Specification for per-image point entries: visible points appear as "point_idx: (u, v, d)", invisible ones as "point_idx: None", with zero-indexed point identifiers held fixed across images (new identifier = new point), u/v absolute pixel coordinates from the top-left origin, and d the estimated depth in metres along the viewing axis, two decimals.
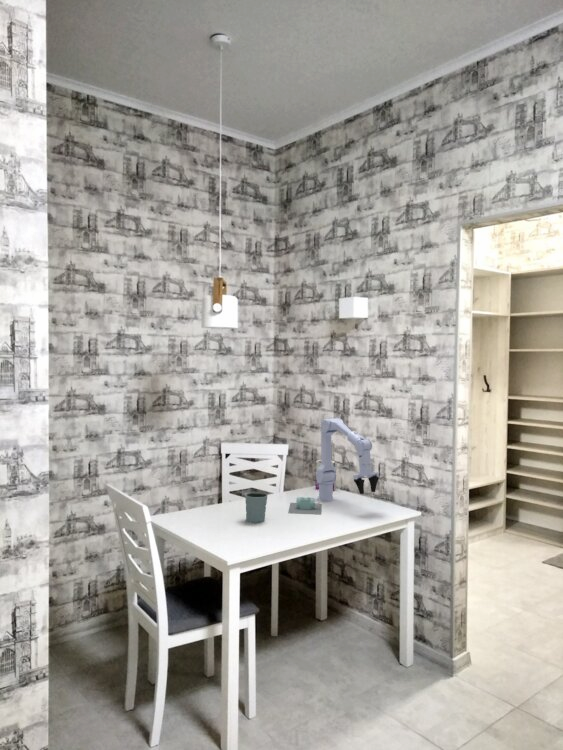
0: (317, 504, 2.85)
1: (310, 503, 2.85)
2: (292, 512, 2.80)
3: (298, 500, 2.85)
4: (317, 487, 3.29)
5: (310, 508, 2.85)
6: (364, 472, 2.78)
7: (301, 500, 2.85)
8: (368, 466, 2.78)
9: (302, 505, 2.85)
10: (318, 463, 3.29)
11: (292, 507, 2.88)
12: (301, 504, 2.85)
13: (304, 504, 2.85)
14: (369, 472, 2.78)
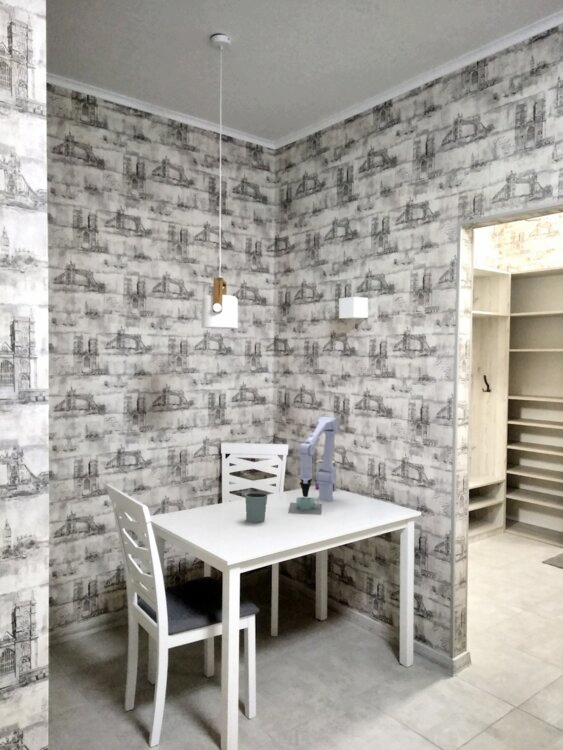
0: (317, 504, 2.85)
1: (310, 503, 2.85)
2: (292, 512, 2.80)
3: (298, 500, 2.85)
4: (317, 487, 3.29)
5: (310, 508, 2.85)
6: None
7: (301, 500, 2.85)
8: None
9: (302, 505, 2.85)
10: (318, 463, 3.29)
11: (292, 507, 2.88)
12: (301, 504, 2.85)
13: (304, 504, 2.85)
14: (300, 474, 2.87)
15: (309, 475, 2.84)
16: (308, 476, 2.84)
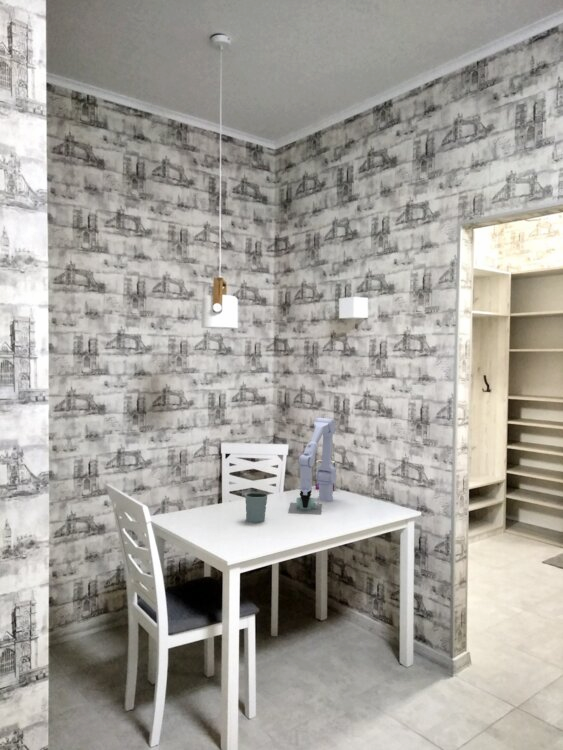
0: (317, 504, 2.85)
1: (310, 503, 2.85)
2: (292, 512, 2.80)
3: (298, 500, 2.85)
4: (317, 487, 3.29)
5: (310, 508, 2.85)
6: None
7: (301, 500, 2.85)
8: None
9: (302, 505, 2.85)
10: (318, 463, 3.29)
11: (292, 507, 2.88)
12: (301, 504, 2.85)
13: None
14: (300, 486, 2.87)
15: (309, 487, 2.84)
16: (308, 488, 2.84)
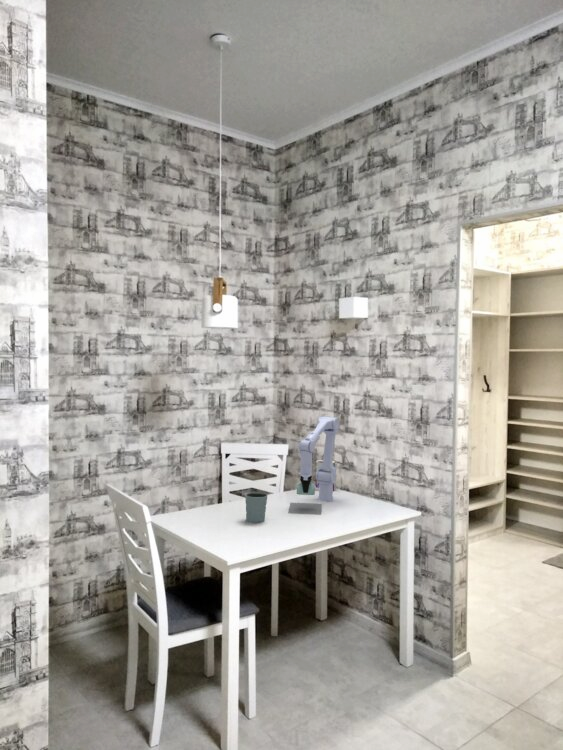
0: (317, 489, 2.85)
1: (310, 488, 2.84)
2: (292, 512, 2.80)
3: (298, 485, 2.85)
4: (317, 487, 3.29)
5: (310, 493, 2.84)
6: None
7: (301, 485, 2.85)
8: None
9: (302, 490, 2.85)
10: (318, 463, 3.29)
11: (292, 507, 2.88)
12: (302, 489, 2.85)
13: None
14: None
15: (309, 472, 2.84)
16: (308, 473, 2.84)
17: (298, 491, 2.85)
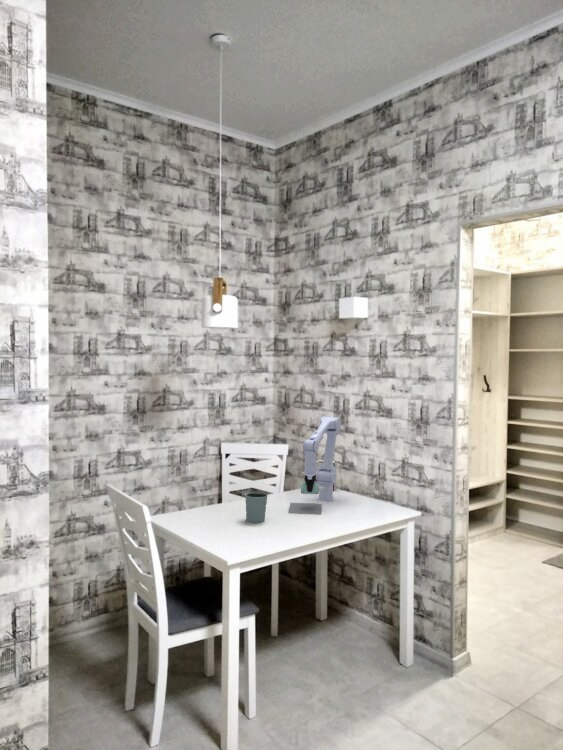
0: (321, 489, 2.87)
1: (314, 488, 2.86)
2: (292, 512, 2.80)
3: (303, 485, 2.87)
4: None
5: (314, 493, 2.86)
6: None
7: (306, 485, 2.86)
8: None
9: None
10: (318, 463, 3.29)
11: (292, 507, 2.88)
12: (306, 488, 2.86)
13: None
14: None
15: (313, 471, 2.86)
16: (312, 472, 2.85)
17: (302, 490, 2.87)
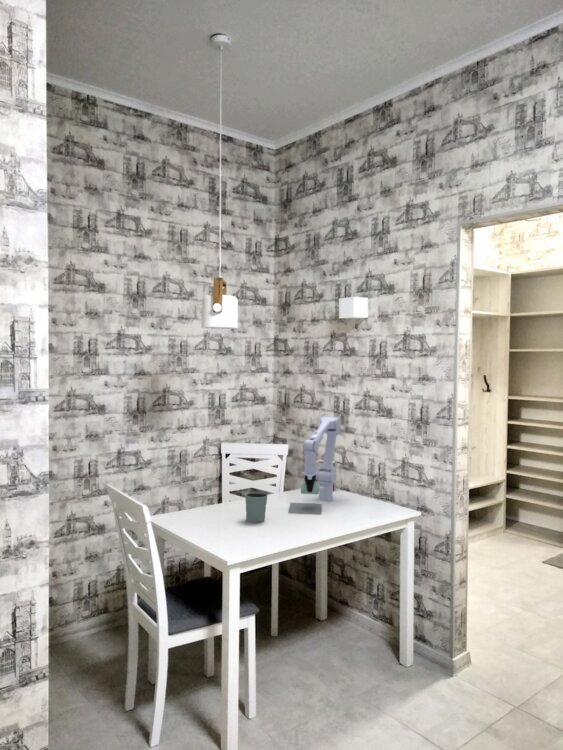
0: (321, 489, 2.87)
1: (314, 488, 2.86)
2: (292, 512, 2.80)
3: (303, 485, 2.87)
4: None
5: (314, 493, 2.86)
6: None
7: (306, 485, 2.86)
8: None
9: None
10: (318, 463, 3.29)
11: (292, 507, 2.88)
12: (306, 488, 2.86)
13: None
14: None
15: (313, 471, 2.86)
16: (312, 472, 2.85)
17: (302, 490, 2.87)
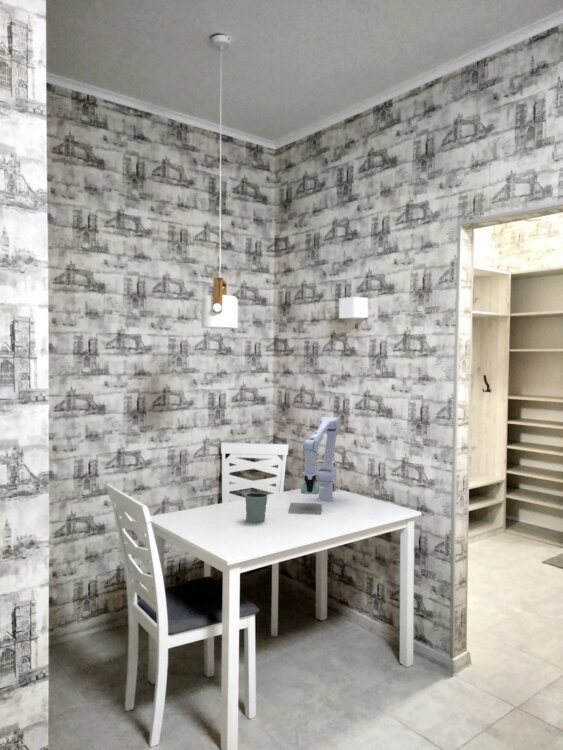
0: (321, 489, 2.87)
1: (314, 488, 2.86)
2: (292, 512, 2.80)
3: (303, 485, 2.87)
4: None
5: (314, 493, 2.86)
6: None
7: (306, 485, 2.86)
8: None
9: None
10: (318, 463, 3.29)
11: (292, 507, 2.88)
12: (306, 488, 2.86)
13: None
14: None
15: (313, 471, 2.86)
16: (312, 472, 2.85)
17: (302, 490, 2.87)
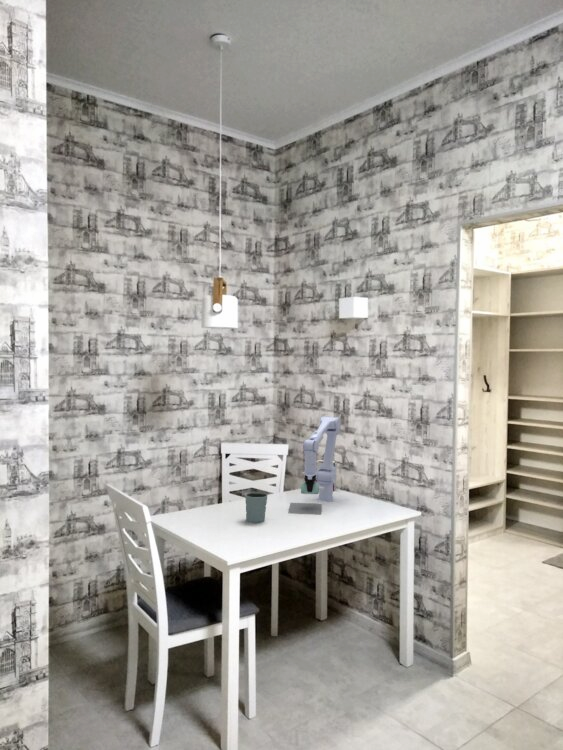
0: (321, 489, 2.87)
1: (314, 488, 2.86)
2: (292, 512, 2.80)
3: (303, 485, 2.87)
4: None
5: (314, 493, 2.86)
6: None
7: (306, 485, 2.86)
8: None
9: None
10: (318, 463, 3.29)
11: (292, 507, 2.88)
12: (306, 488, 2.86)
13: None
14: None
15: (313, 471, 2.86)
16: (312, 472, 2.85)
17: (302, 490, 2.87)
